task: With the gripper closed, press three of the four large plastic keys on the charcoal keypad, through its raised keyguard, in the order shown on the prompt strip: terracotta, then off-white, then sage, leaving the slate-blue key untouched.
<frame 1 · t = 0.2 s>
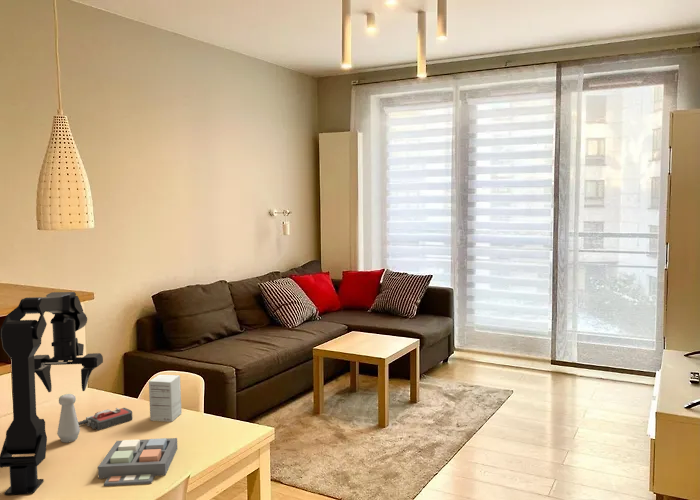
hand: (66, 391, 169), 14 cm above the table, fingers open, 9 cm apart
salt shaker: (69, 440, 171), on the table
walkie-talkie: (99, 426, 182), on the table
key slate: (156, 445, 159), point 3 cm above the table, slide at 0.0 cm
supplement box: (166, 417, 188), on the table
keypad: (140, 462, 155), on the table
key sage: (122, 458, 151), point 3 cm above the table, slide at 0.0 cm
key terracotta: (150, 456, 152), point 3 cm above the table, slide at 0.0 cm
key offwhite: (129, 446, 158), point 3 cm above the table, slide at 0.0 cm
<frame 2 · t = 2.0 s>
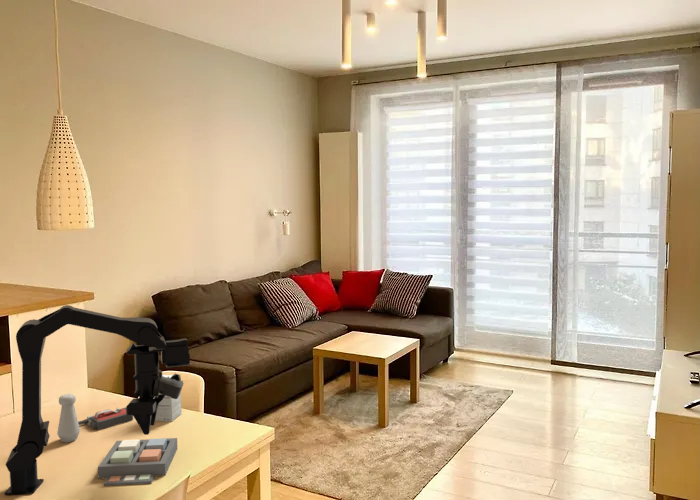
hand: (149, 429, 151), 10 cm above the table, fingers open, 6 cm apart
nothing on the table moved.
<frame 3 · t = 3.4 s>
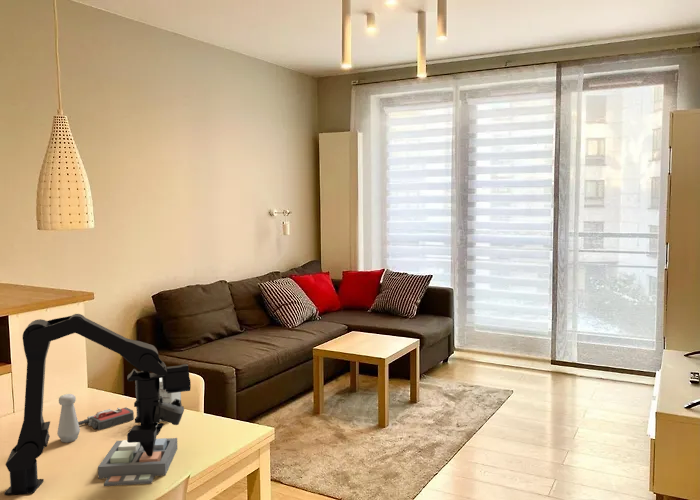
hand: (150, 455, 152), 3 cm above the table, fingers closed, pressing on key terracotta
key terracotta: (150, 459, 152), point 2 cm above the table, slide at 0.7 cm, touching gripper
everything else where it was.
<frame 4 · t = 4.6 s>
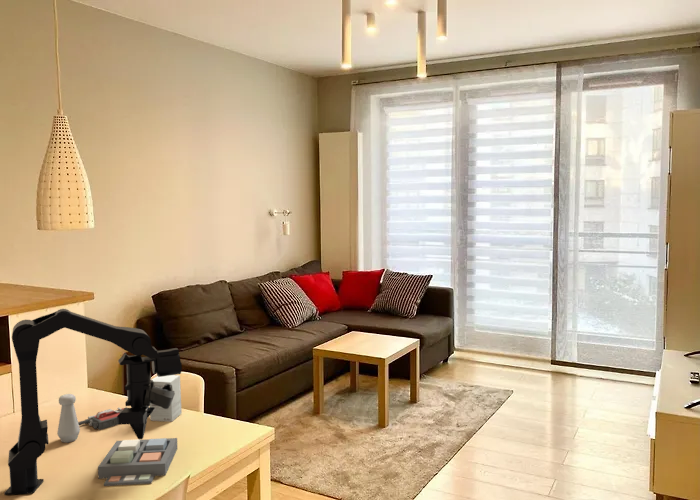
hand: (140, 438, 154), 7 cm above the table, fingers closed
key terracotta: (150, 460, 152), point 2 cm above the table, slide at 0.9 cm
everything else where it was.
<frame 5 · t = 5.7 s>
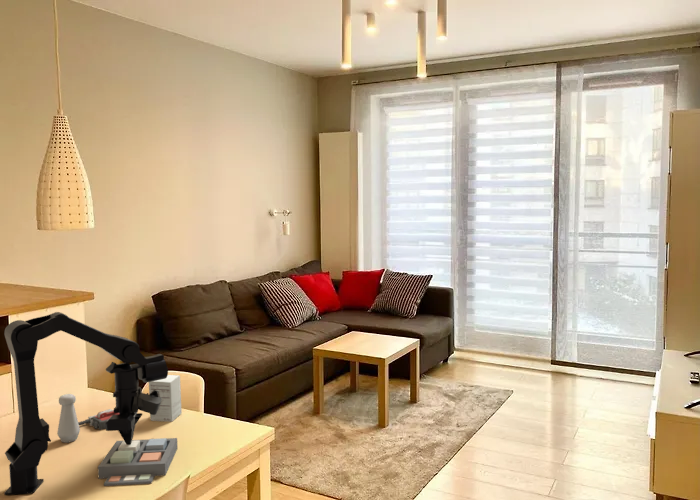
hand: (129, 444, 158), 4 cm above the table, fingers closed, pressing on key offwhite
key offwhite: (129, 447, 158), point 3 cm above the table, slide at 0.2 cm, touching gripper
everything else where it was.
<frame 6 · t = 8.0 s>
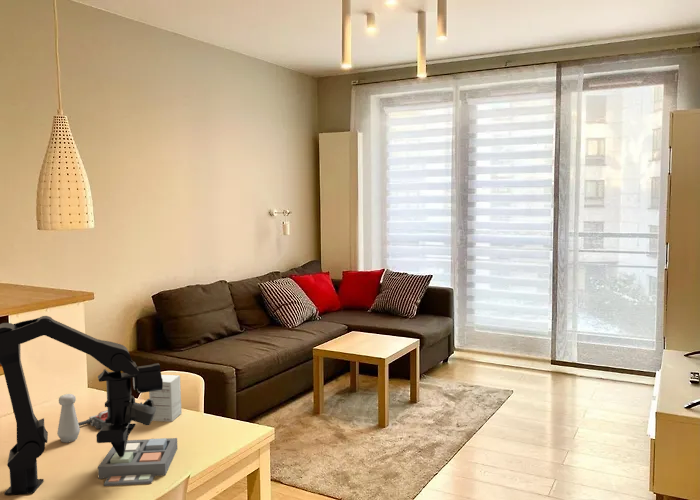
hand: (121, 455, 151), 4 cm above the table, fingers closed, pressing on key sage
key sage: (122, 459, 151), point 3 cm above the table, slide at 0.4 cm, touching gripper
key offwhite: (129, 450, 158), point 2 cm above the table, slide at 0.9 cm
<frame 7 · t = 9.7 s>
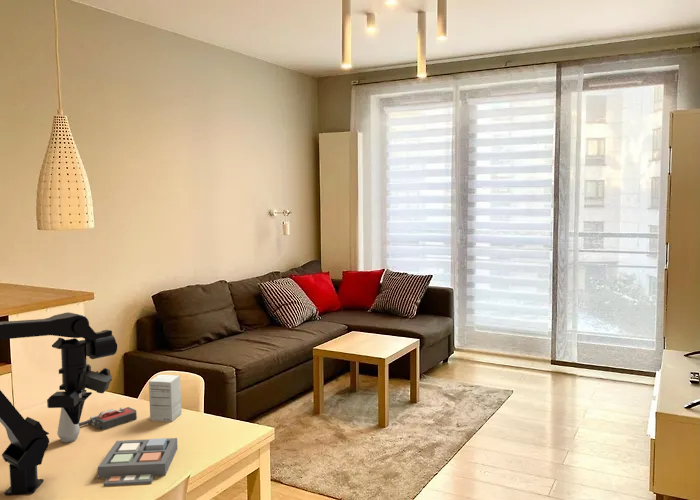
hand: (76, 423, 152), 12 cm above the table, fingers closed
key sage: (122, 461, 151), point 2 cm above the table, slide at 0.9 cm
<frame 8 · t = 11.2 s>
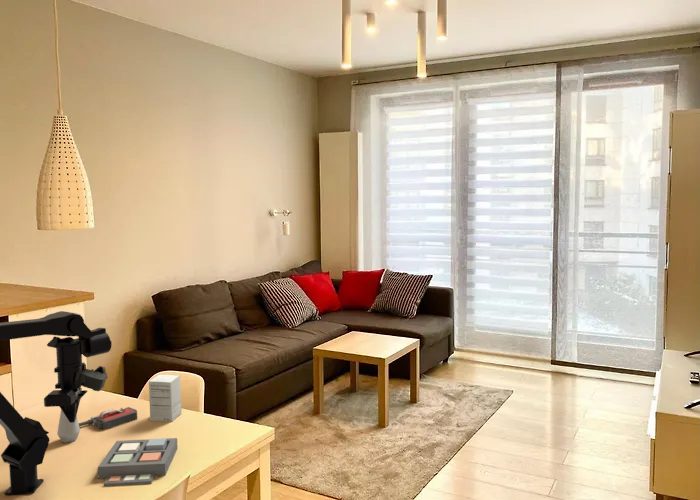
hand: (72, 422, 152), 12 cm above the table, fingers closed
at the end: key terracotta slide at 0.9 cm; key offwhite slide at 0.9 cm; key sage slide at 0.9 cm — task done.
